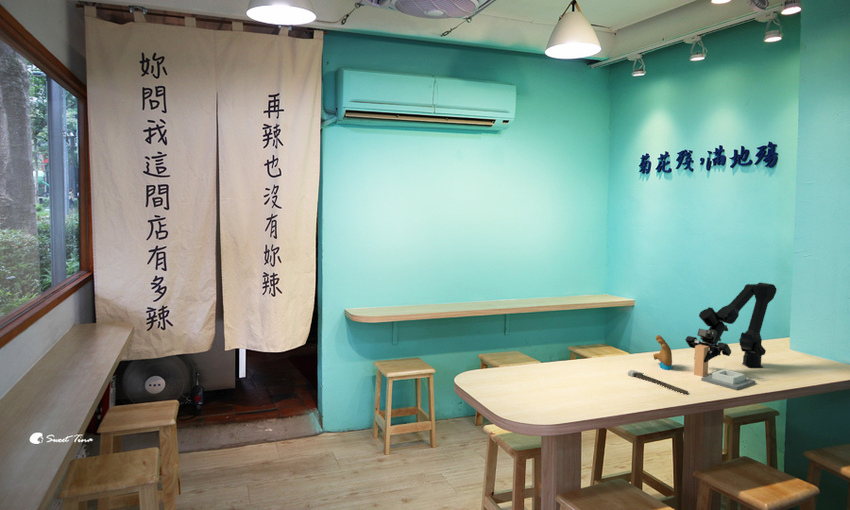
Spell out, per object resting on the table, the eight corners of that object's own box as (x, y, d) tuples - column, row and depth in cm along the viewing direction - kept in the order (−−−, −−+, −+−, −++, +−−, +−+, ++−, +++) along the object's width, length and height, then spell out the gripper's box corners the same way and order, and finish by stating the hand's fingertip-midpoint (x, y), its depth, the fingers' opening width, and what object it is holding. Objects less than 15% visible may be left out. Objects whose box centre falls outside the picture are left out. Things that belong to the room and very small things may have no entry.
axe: (679, 390, 226) (626, 369, 254) (678, 396, 226) (625, 375, 254) (700, 390, 230) (646, 370, 258) (699, 396, 230) (645, 375, 258)
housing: (720, 374, 253) (720, 366, 253) (755, 383, 241) (755, 375, 241) (701, 380, 245) (701, 372, 245) (736, 390, 233) (736, 381, 232)
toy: (652, 362, 272) (653, 331, 271) (668, 363, 271) (669, 332, 269) (657, 370, 260) (658, 337, 259) (673, 371, 259) (675, 338, 257)
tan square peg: (699, 372, 256) (700, 344, 255) (707, 375, 253) (709, 346, 251) (693, 374, 254) (695, 345, 252) (702, 376, 250) (703, 347, 249)
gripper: (688, 318, 261) (673, 345, 256) (729, 325, 245) (713, 354, 240) (697, 333, 266) (682, 360, 261) (737, 341, 250) (723, 370, 245)
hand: (699, 360), depth 252 cm, fingers closed on tan square peg, 4 cm apart
